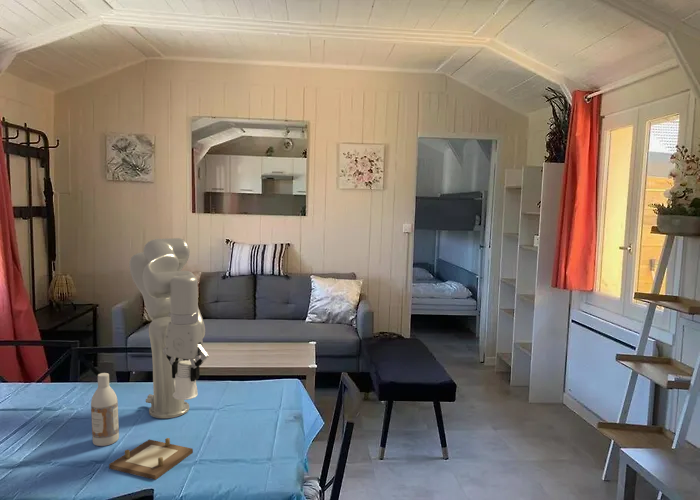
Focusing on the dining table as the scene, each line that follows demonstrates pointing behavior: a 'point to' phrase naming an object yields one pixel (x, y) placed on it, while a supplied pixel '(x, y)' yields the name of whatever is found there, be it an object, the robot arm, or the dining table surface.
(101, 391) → the bath foam
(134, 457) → the pin board
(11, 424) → the dining table surface
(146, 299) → the robot arm
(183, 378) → the downlight
